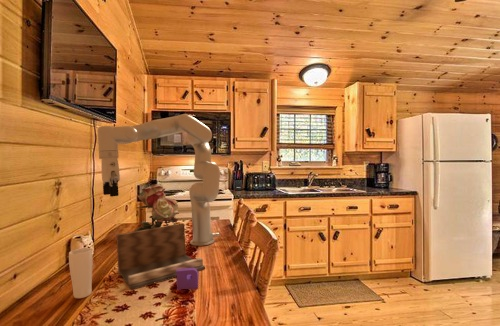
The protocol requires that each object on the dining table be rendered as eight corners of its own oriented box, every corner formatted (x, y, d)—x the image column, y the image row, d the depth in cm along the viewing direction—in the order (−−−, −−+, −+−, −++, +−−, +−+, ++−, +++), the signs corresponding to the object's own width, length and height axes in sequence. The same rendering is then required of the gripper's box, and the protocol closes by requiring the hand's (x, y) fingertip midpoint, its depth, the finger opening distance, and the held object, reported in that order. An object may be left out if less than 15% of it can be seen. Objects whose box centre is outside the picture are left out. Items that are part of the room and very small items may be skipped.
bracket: (198, 289, 100) (197, 269, 100) (177, 291, 99) (176, 271, 99) (198, 275, 112) (197, 257, 112) (180, 277, 111) (179, 259, 111)
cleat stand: (184, 255, 134) (182, 223, 134) (205, 268, 117) (203, 231, 117) (118, 271, 118) (116, 234, 118) (131, 289, 101) (129, 246, 101)
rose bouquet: (160, 240, 163) (157, 186, 162) (127, 235, 178) (124, 185, 178) (192, 229, 184) (190, 182, 184) (160, 225, 200) (158, 181, 199)
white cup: (77, 291, 101) (74, 248, 101) (97, 290, 102) (95, 247, 102) (66, 301, 95) (64, 254, 94) (88, 299, 95) (86, 253, 95)
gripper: (124, 154, 122) (126, 195, 122) (112, 155, 135) (113, 193, 135) (105, 154, 117) (107, 197, 117) (94, 156, 130) (96, 194, 130)
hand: (110, 195), depth 126 cm, fingers open, 9 cm apart
